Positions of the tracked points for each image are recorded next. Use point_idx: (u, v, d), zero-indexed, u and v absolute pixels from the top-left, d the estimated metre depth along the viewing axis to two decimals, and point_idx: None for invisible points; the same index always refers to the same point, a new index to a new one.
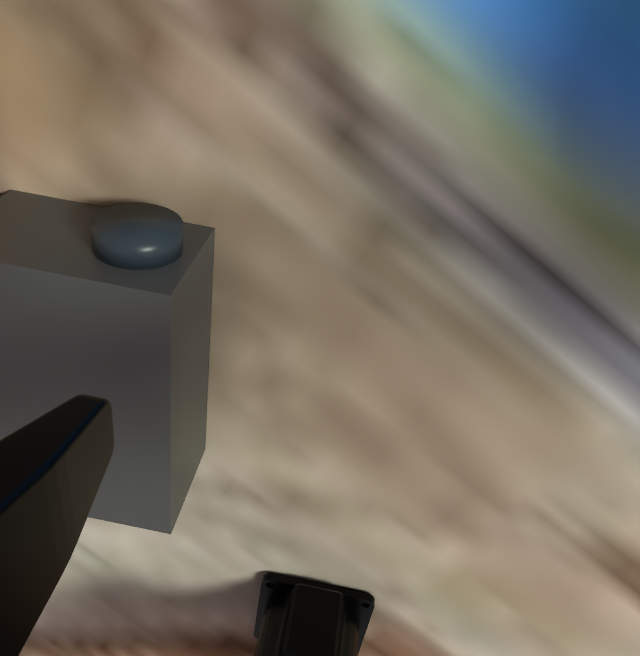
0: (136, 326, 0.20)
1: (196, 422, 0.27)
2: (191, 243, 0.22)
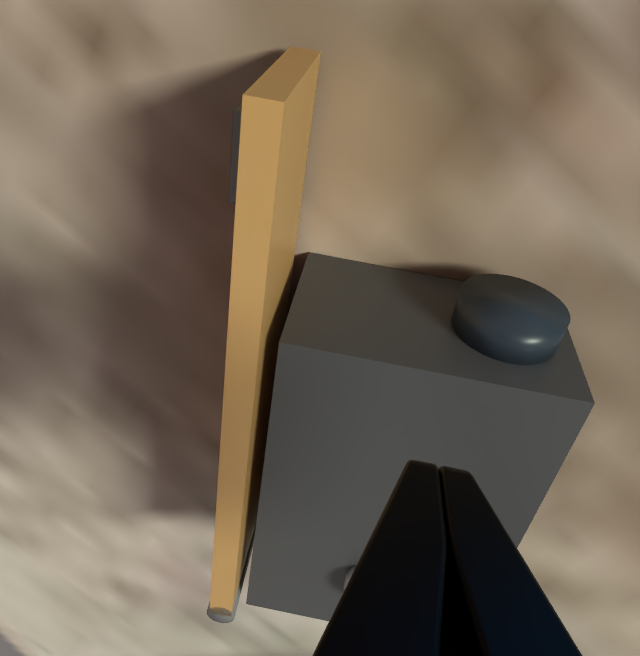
0: (529, 435, 0.16)
1: None
2: None
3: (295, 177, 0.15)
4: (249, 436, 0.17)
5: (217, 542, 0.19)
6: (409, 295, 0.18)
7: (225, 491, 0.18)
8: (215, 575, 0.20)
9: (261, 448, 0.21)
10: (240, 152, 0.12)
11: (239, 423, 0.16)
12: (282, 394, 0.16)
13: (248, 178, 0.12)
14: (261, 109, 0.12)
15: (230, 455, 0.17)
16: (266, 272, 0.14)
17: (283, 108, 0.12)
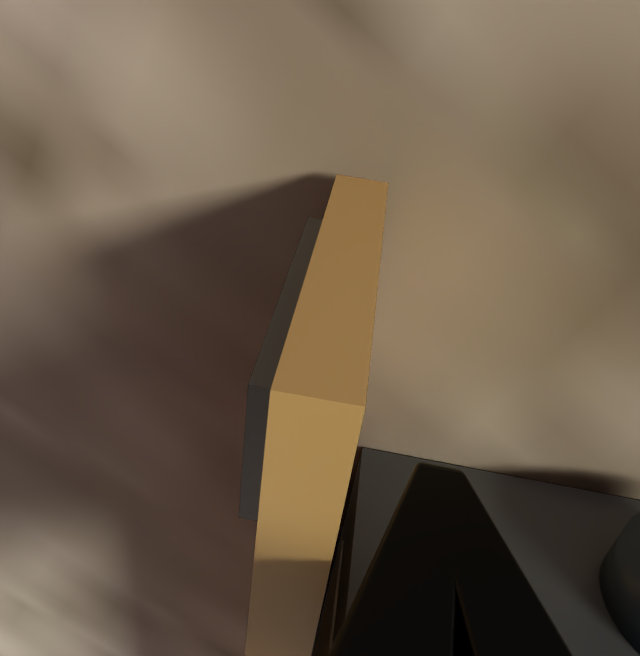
0: None
1: None
2: None
3: None
4: None
5: None
6: (526, 535, 0.12)
7: None
8: None
9: None
10: (264, 480, 0.06)
11: None
12: None
13: (281, 519, 0.06)
14: (312, 416, 0.05)
15: None
16: (313, 641, 0.07)
17: (362, 414, 0.05)
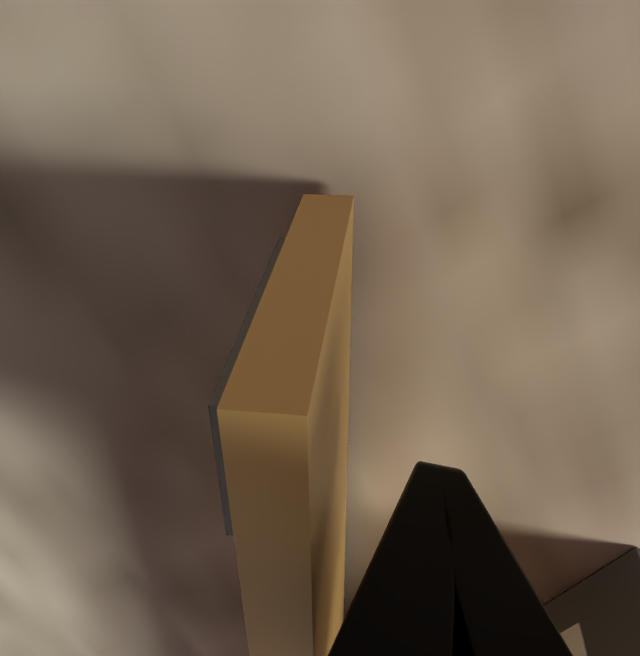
0: None
1: None
2: None
3: (339, 411, 0.09)
4: None
5: None
6: None
7: None
8: None
9: None
10: (231, 495, 0.06)
11: None
12: None
13: (254, 532, 0.06)
14: (260, 429, 0.05)
15: None
16: (312, 649, 0.07)
17: (307, 423, 0.05)
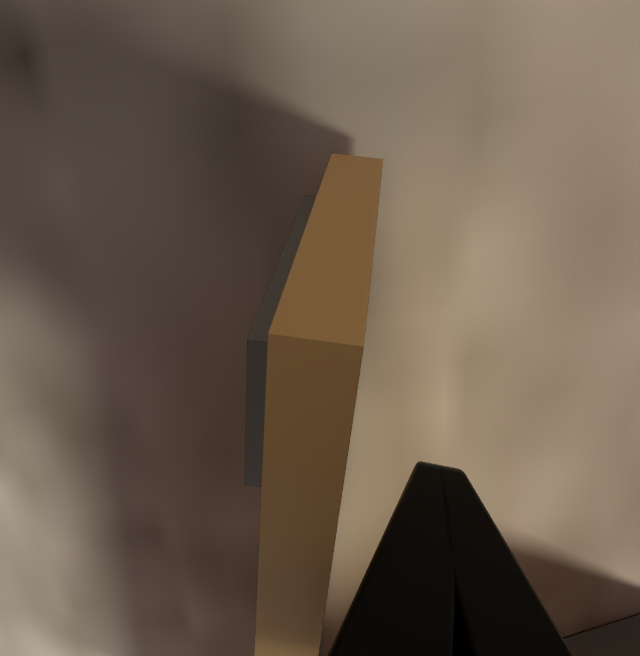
0: None
1: None
2: None
3: None
4: None
5: None
6: None
7: None
8: None
9: None
10: (267, 432, 0.06)
11: None
12: None
13: (285, 475, 0.06)
14: (311, 359, 0.05)
15: None
16: (324, 609, 0.07)
17: (361, 356, 0.05)
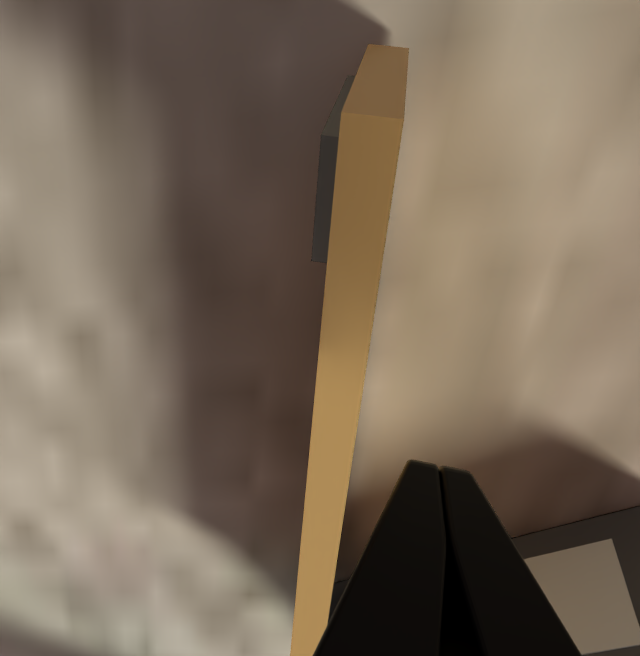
0: None
1: None
2: None
3: None
4: (337, 550, 0.13)
5: None
6: None
7: (305, 612, 0.14)
8: None
9: None
10: (335, 194, 0.08)
11: (324, 536, 0.12)
12: None
13: (346, 230, 0.09)
14: (368, 131, 0.08)
15: (312, 573, 0.13)
16: (367, 353, 0.10)
17: (401, 128, 0.08)
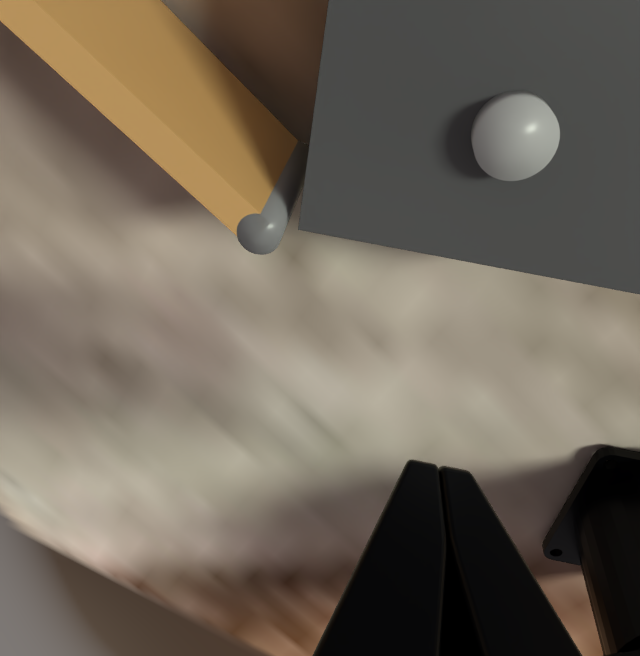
0: None
1: None
2: None
3: None
4: None
5: (98, 103, 0.12)
6: None
7: None
8: (168, 166, 0.13)
9: None
10: None
11: None
12: None
13: None
14: None
15: None
16: None
17: None
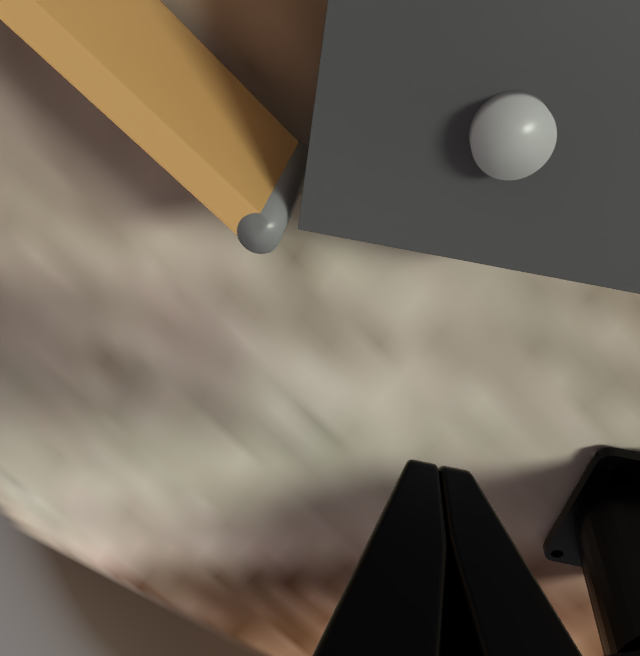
0: None
1: None
2: None
3: None
4: None
5: (100, 103, 0.12)
6: None
7: None
8: (169, 166, 0.13)
9: None
10: None
11: None
12: None
13: None
14: None
15: None
16: None
17: None
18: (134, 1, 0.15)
